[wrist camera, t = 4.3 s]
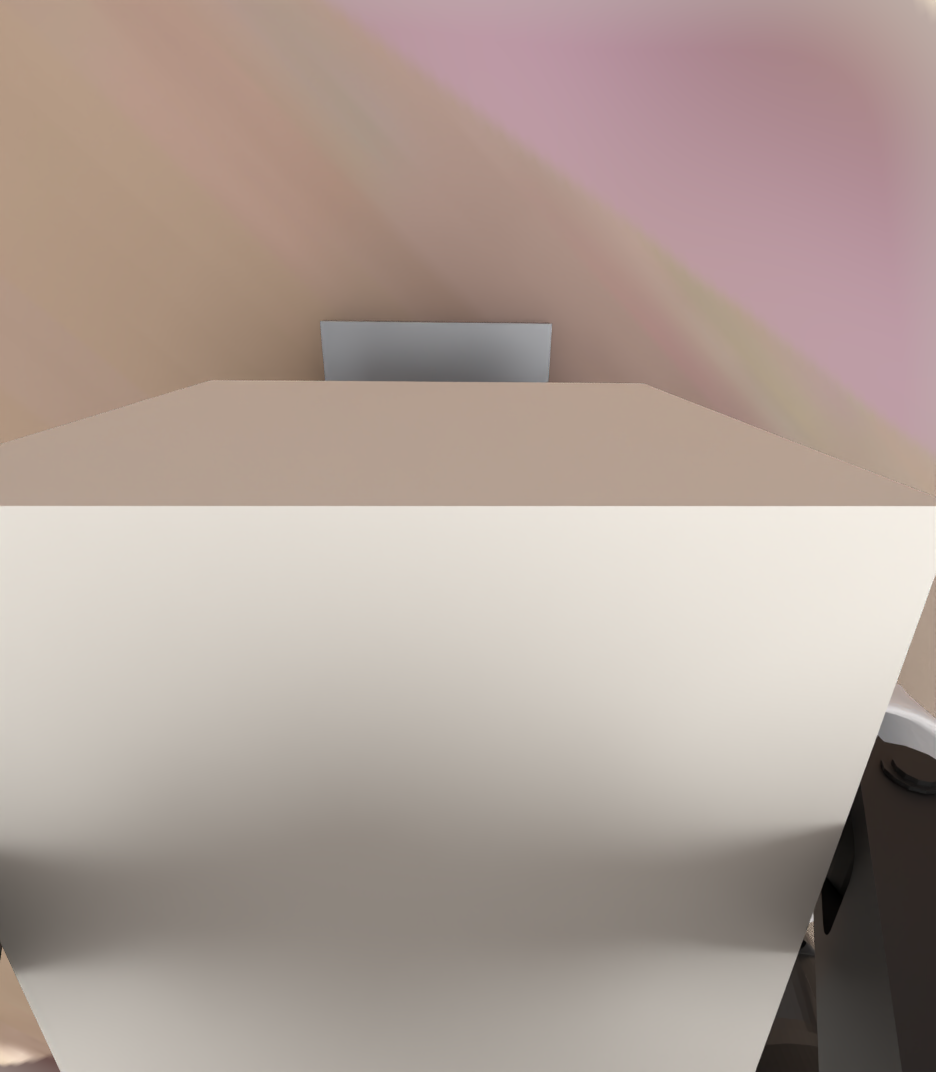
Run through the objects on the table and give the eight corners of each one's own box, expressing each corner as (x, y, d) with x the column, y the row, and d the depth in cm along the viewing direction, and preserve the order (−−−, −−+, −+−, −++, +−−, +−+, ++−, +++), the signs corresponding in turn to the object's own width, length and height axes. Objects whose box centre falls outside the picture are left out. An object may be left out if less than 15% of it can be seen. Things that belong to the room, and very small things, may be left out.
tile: (534, 547, 29) (554, 602, 24) (342, 547, 29) (319, 604, 24) (549, 323, 25) (576, 330, 20) (323, 320, 25) (289, 326, 19)
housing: (600, 723, 17) (741, 1109, 9) (266, 727, 17) (89, 1133, 8) (643, 383, 13) (959, 505, 5) (211, 380, 13) (-202, 506, 5)
